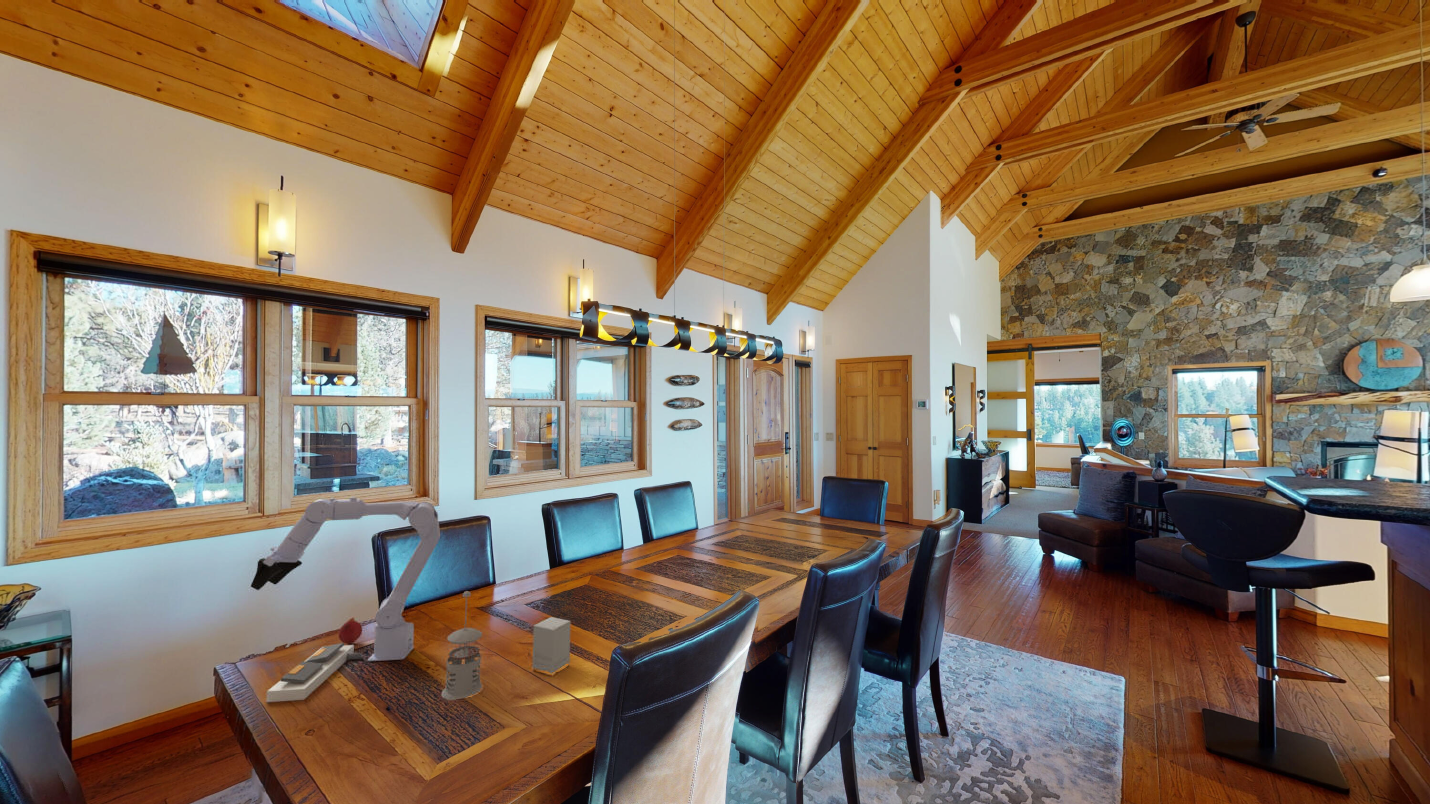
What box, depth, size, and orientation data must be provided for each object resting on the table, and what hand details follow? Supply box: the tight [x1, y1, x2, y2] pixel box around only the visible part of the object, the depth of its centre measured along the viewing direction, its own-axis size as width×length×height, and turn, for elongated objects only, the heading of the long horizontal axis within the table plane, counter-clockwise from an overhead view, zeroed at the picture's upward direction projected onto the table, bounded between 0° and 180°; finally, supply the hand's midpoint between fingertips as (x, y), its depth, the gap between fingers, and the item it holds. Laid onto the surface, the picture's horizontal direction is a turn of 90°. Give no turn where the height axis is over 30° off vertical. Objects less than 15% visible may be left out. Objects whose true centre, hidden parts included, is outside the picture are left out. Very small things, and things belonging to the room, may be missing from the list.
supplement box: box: [532, 616, 571, 673], centre depth 146 cm, size 7×7×13 cm
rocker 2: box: [305, 642, 345, 662], centre depth 144 cm, size 5×9×1 cm, turn 12°
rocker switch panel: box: [265, 644, 363, 703], centre depth 139 cm, size 12×25×3 cm, turn 11°
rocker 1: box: [280, 660, 323, 683], centre depth 133 cm, size 5×9×1 cm, turn 11°
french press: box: [440, 590, 483, 701], centre depth 135 cm, size 10×12×25 cm
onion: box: [338, 617, 363, 645], centre depth 158 cm, size 6×6×8 cm
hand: (263, 585), depth 140 cm, fingers open, 7 cm apart
